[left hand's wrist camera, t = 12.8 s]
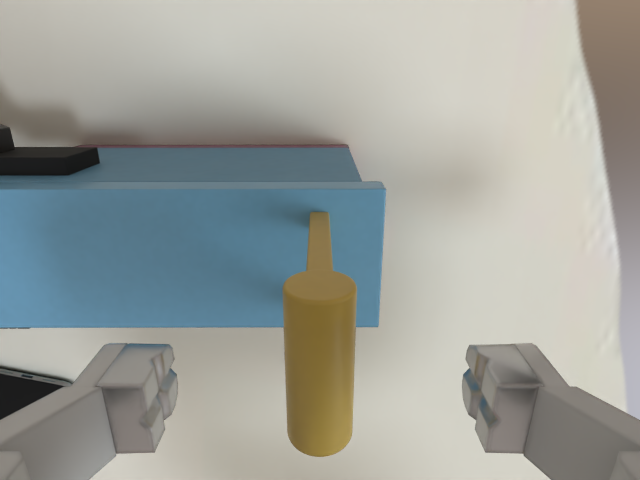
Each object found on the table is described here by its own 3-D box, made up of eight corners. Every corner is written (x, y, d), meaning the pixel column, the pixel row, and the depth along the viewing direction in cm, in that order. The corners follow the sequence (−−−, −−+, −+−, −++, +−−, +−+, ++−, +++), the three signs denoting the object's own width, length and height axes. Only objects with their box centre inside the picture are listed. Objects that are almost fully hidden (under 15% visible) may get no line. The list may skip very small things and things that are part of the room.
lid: (381, 181, 16) (436, 272, 9) (375, 312, 19) (414, 479, 11) (-46, 181, 16) (-363, 273, 9) (-5, 313, 19) (-234, 480, 11)
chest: (347, 144, 25) (362, 180, 17) (345, 237, 27) (358, 312, 19) (81, 145, 25) (-45, 181, 17) (99, 237, 27) (-4, 312, 19)
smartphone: (77, 389, 31) (67, 531, 36) (82, 383, 31) (72, 523, 36) (-30, 368, 30) (-24, 516, 35) (-23, 362, 31) (-18, 508, 36)
